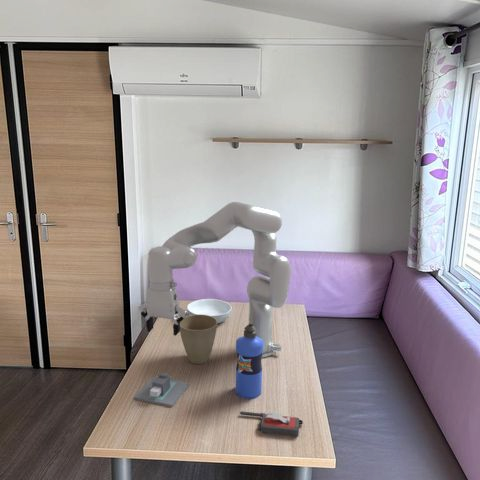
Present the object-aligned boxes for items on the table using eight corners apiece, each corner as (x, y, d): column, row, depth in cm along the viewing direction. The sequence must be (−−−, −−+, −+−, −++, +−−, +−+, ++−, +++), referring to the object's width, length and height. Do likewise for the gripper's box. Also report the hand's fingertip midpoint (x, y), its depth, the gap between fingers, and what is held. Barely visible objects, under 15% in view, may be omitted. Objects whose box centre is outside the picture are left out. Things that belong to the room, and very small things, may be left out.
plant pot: (213, 348, 191) (214, 312, 187) (220, 367, 177) (220, 328, 173) (177, 351, 188) (177, 315, 184) (180, 370, 174) (180, 331, 170)
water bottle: (253, 402, 156) (255, 333, 149) (229, 393, 160) (231, 326, 154) (266, 389, 163) (269, 323, 157) (244, 381, 168) (245, 317, 162)
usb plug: (161, 383, 164) (161, 371, 163) (172, 385, 163) (172, 373, 162) (148, 398, 155) (148, 387, 154) (159, 400, 154) (158, 389, 153)
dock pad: (189, 384, 165) (189, 382, 165) (172, 407, 152) (172, 404, 152) (153, 377, 169) (153, 375, 169) (134, 399, 156) (134, 396, 156)
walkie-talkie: (302, 421, 147) (240, 414, 150) (303, 408, 146) (240, 402, 149) (302, 439, 139) (236, 431, 141) (302, 426, 138) (236, 419, 140)
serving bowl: (230, 330, 209) (231, 316, 207) (184, 329, 209) (184, 315, 207) (232, 311, 229) (232, 298, 227) (189, 310, 229) (189, 297, 227)
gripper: (190, 283, 155) (191, 330, 159) (143, 278, 159) (145, 324, 164) (181, 291, 148) (182, 340, 152) (132, 285, 152) (135, 333, 157)
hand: (163, 331), depth 158 cm, fingers open, 9 cm apart
